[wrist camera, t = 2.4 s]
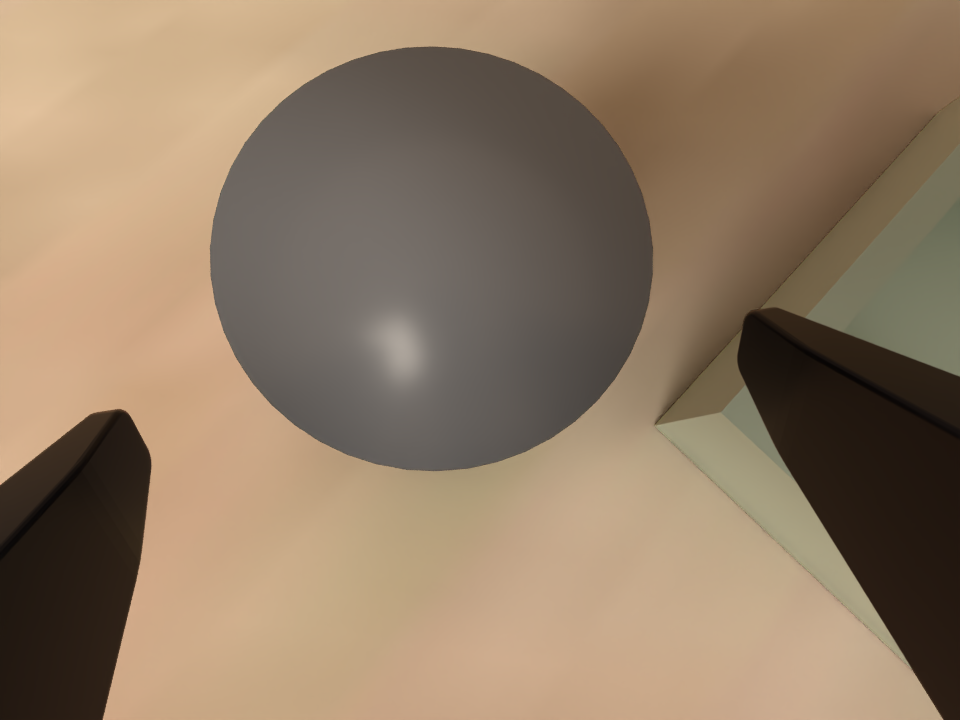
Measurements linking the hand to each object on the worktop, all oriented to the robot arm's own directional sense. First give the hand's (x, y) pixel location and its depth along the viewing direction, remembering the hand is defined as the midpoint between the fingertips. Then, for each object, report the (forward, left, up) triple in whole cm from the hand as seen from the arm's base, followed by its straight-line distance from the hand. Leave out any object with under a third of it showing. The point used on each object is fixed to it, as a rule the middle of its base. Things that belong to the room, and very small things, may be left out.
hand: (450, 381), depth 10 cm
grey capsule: (+1, -1, -9) cm, 9 cm away
